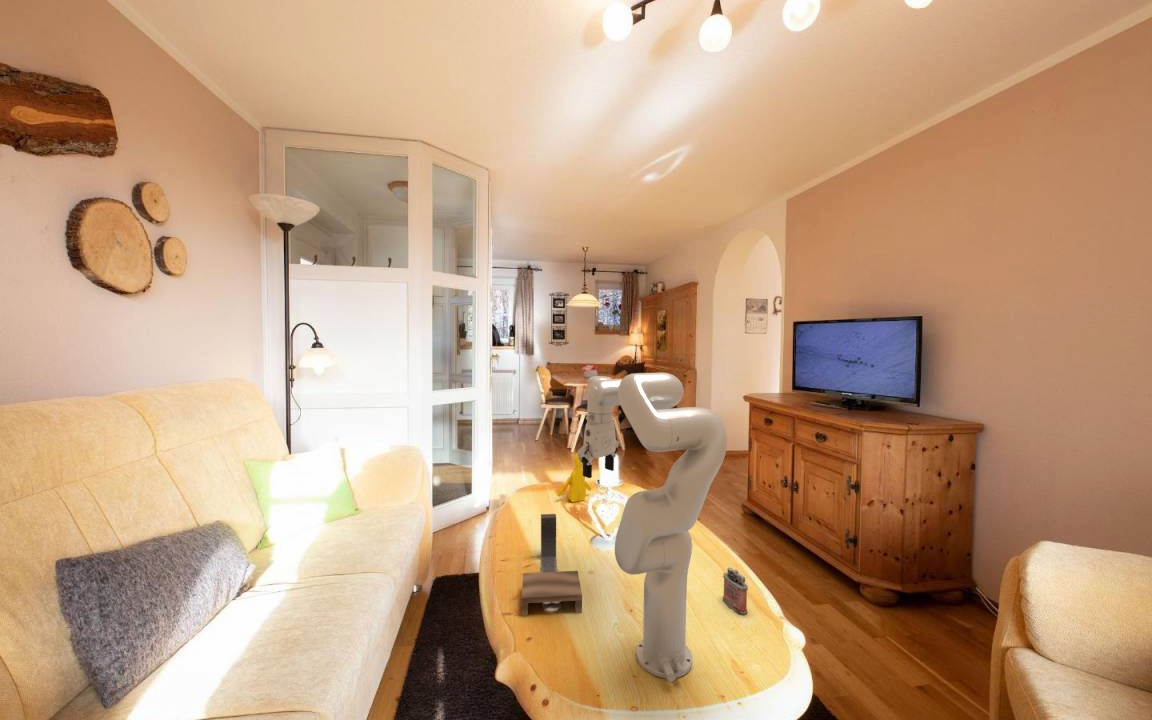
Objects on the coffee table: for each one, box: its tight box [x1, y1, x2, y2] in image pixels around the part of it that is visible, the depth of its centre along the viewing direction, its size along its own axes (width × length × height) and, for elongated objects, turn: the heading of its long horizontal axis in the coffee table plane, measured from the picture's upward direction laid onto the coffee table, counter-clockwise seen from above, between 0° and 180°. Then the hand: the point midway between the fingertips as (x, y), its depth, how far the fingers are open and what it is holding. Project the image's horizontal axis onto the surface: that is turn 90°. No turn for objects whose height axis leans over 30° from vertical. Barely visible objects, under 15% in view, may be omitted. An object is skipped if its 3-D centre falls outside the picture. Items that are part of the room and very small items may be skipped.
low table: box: [521, 570, 583, 617], centre depth 121 cm, size 12×16×5 cm
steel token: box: [541, 601, 562, 613], centre depth 119 cm, size 5×5×1 cm
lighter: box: [722, 566, 749, 617], centre depth 119 cm, size 8×3×10 cm, turn 21°
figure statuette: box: [556, 452, 592, 503], centre depth 196 cm, size 18×8×22 cm, turn 118°
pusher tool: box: [540, 513, 559, 572], centre depth 137 cm, size 19×5×14 cm, turn 5°
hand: (598, 473), depth 132 cm, fingers open, 9 cm apart
